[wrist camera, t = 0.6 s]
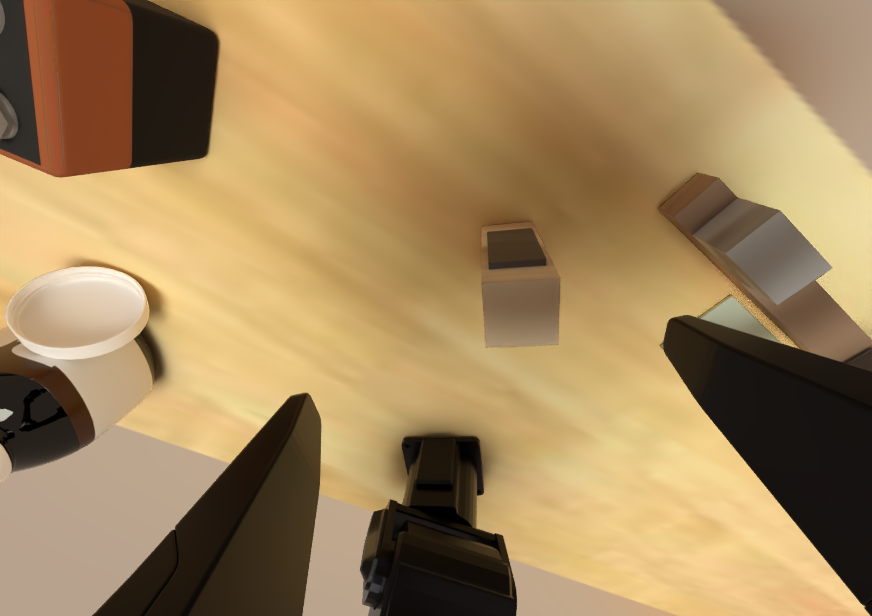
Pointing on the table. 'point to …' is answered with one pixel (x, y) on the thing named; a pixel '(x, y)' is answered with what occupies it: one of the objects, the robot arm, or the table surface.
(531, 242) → the tan wooden block
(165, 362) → the table surface
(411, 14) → the table surface
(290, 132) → the table surface
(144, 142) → the battery
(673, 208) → the rail
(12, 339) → the spread jar
